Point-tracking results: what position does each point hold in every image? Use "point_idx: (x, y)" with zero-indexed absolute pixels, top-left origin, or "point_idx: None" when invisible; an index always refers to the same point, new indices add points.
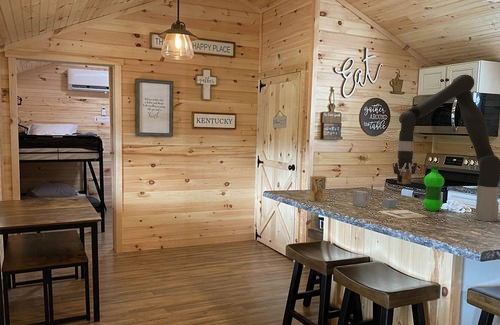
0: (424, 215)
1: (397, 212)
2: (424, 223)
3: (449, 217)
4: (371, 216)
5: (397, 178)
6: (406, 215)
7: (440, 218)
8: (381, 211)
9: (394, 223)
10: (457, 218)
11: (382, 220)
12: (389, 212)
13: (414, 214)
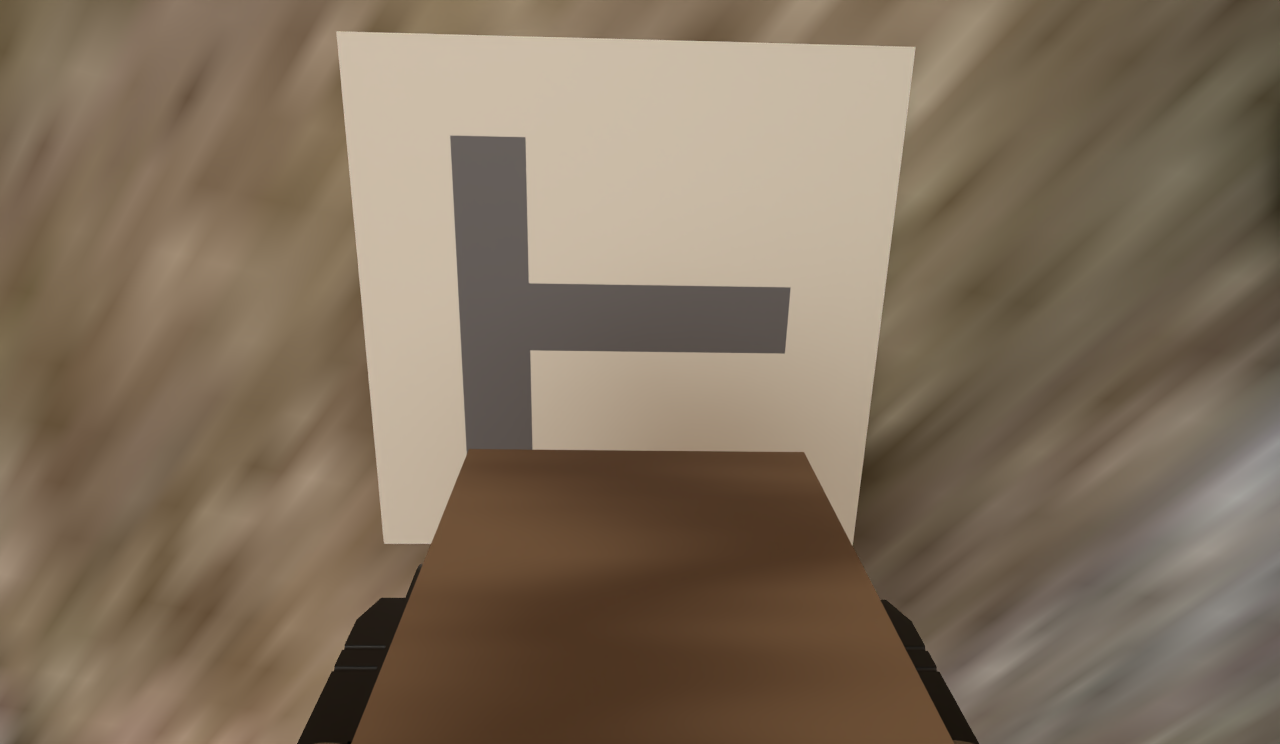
0: (854, 480)
1: (620, 205)
2: None
3: (1105, 597)
4: (59, 310)
5: (335, 672)
6: (600, 423)
7: (940, 617)
8: (398, 57)
9: (173, 702)
10: (1142, 658)
11: (102, 553)
12: (485, 172)
13: (769, 394)
